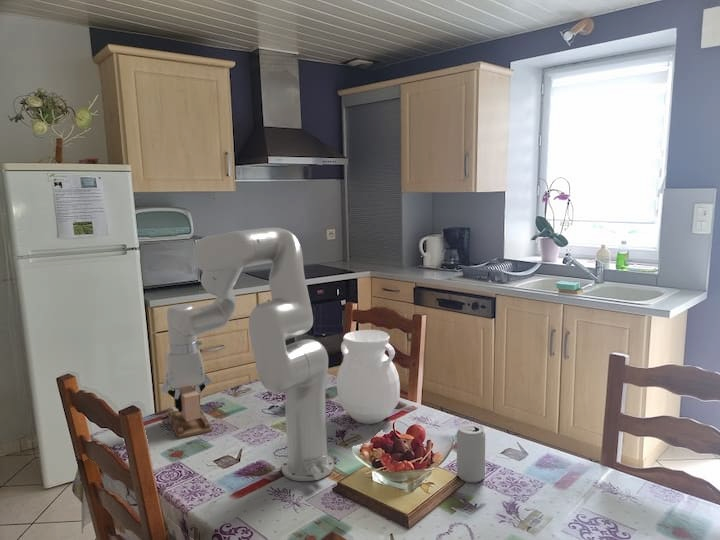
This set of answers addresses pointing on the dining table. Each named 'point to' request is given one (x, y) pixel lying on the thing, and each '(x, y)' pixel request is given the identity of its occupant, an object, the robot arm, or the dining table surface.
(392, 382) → the white vase
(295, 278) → the robot arm
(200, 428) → the rack
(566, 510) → the dining table surface
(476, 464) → the beverage can
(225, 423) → the dining table surface
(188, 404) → the block
